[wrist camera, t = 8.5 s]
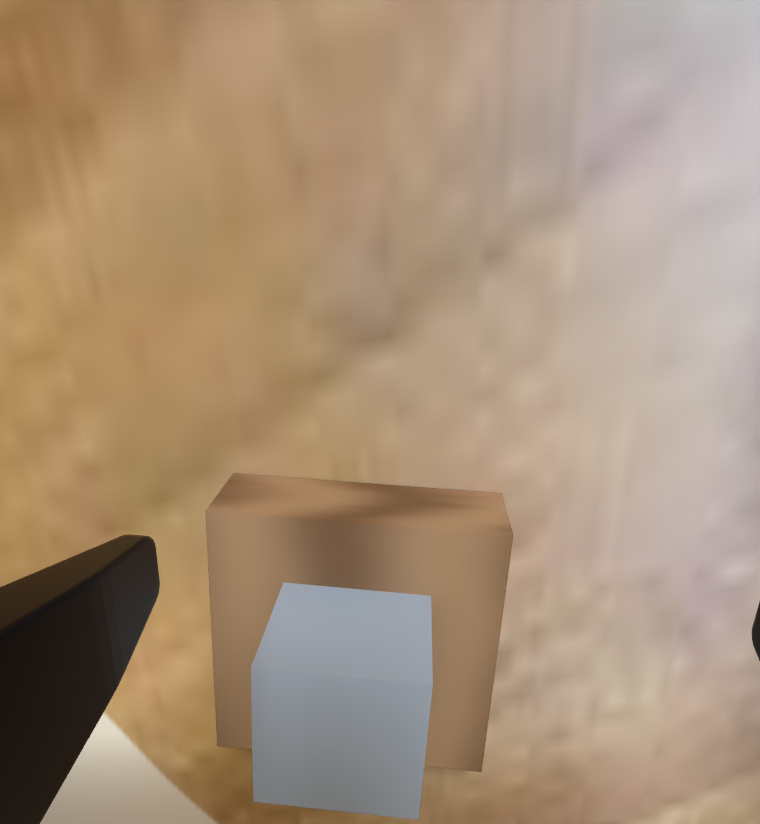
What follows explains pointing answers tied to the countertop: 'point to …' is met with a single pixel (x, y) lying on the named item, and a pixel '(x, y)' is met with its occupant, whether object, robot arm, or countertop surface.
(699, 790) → the countertop surface
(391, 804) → the blue-grey squarish block
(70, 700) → the robot arm
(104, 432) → the countertop surface
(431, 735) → the base block
